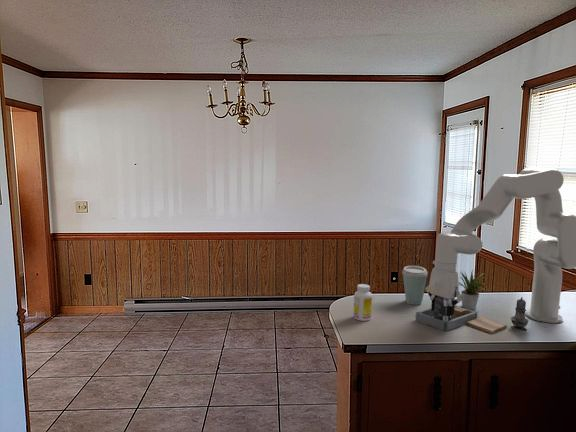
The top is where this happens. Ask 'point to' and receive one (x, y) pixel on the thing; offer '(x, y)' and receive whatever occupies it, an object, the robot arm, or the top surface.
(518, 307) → the stone chess piece
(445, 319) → the pill bottle
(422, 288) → the disposable coffee cup
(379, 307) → the top surface
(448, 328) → the bin
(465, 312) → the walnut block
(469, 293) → the house plant
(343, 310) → the top surface
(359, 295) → the supplement bottle
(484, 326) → the pad
